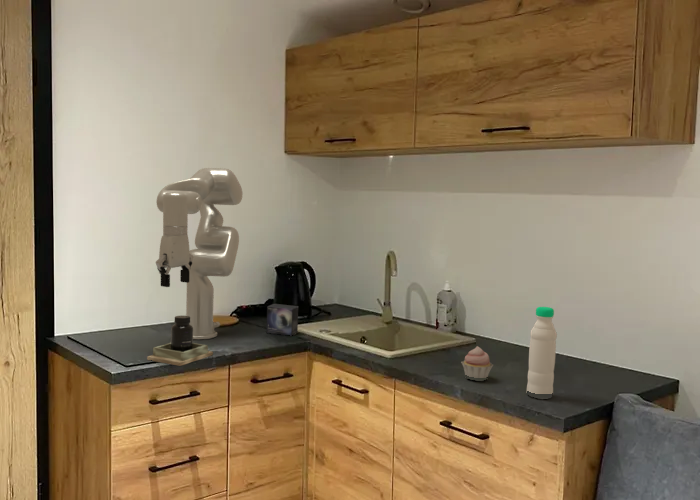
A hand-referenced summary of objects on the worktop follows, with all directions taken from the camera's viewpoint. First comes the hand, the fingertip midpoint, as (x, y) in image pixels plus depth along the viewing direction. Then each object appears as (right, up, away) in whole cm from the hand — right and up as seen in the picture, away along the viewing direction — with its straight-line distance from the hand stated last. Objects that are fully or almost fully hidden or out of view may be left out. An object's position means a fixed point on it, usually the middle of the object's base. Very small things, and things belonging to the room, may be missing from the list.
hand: (175, 284), depth 218 cm
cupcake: (+94, -28, -14) cm, 99 cm away
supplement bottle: (+2, -22, -1) cm, 22 cm away
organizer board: (+2, -23, -2) cm, 23 cm away
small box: (+30, -21, +38) cm, 53 cm away
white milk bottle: (+109, -30, -29) cm, 116 cm away
